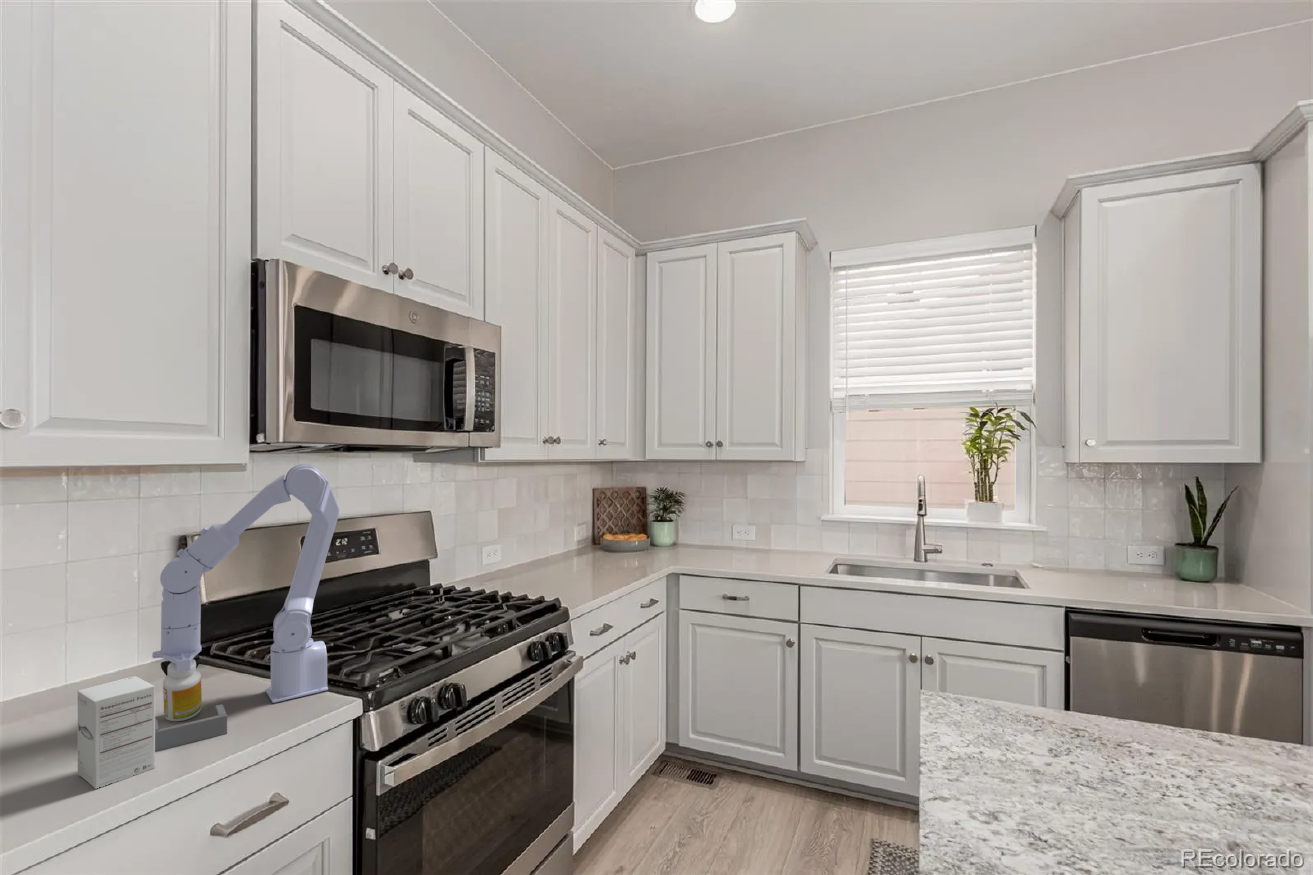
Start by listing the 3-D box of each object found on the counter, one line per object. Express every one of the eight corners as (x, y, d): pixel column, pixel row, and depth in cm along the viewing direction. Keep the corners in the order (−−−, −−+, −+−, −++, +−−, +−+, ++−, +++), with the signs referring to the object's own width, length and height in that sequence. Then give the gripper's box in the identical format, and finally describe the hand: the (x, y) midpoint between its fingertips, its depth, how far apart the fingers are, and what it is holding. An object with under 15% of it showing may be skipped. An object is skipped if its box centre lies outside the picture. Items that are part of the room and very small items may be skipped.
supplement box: (75, 776, 94) (75, 689, 94) (138, 755, 100) (137, 674, 100) (93, 791, 90) (92, 701, 90) (156, 768, 96) (156, 684, 96)
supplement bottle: (209, 705, 116) (208, 659, 114) (184, 725, 111) (182, 676, 109) (182, 699, 117) (181, 652, 115) (156, 718, 112) (154, 669, 109)
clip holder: (222, 721, 112) (222, 704, 112) (227, 733, 107) (227, 715, 107) (149, 738, 105) (149, 720, 105) (151, 752, 101) (150, 733, 101)
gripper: (151, 619, 119) (150, 692, 119) (154, 638, 108) (153, 719, 107) (198, 612, 123) (197, 683, 123) (205, 631, 112) (204, 709, 112)
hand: (179, 700), depth 116 cm, fingers closed, pressing on supplement bottle
